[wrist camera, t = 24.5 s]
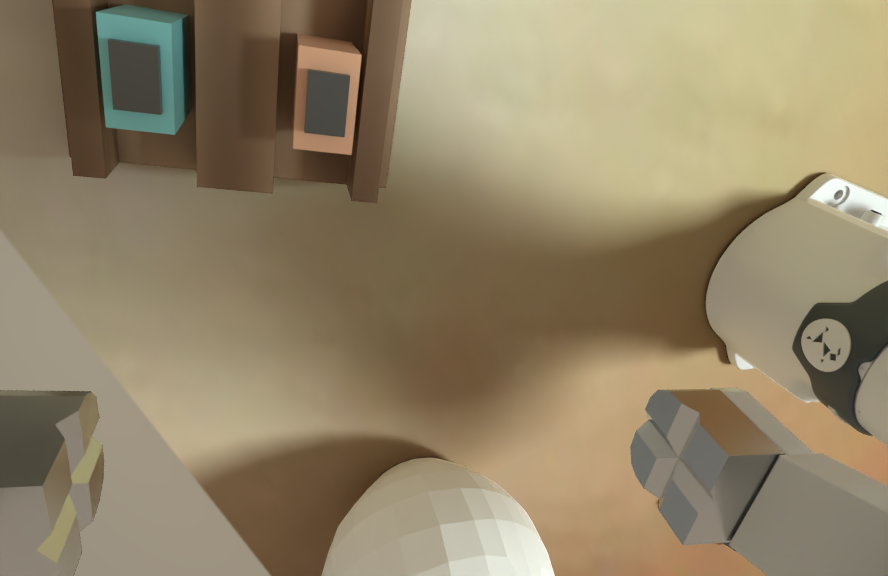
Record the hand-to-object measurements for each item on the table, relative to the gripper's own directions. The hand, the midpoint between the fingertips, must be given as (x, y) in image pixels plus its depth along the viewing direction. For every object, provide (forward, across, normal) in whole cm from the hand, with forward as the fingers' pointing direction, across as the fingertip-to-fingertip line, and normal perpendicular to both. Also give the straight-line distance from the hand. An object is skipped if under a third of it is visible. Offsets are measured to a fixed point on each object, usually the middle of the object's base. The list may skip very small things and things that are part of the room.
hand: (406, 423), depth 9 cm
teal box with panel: (+30, +8, 0) cm, 31 cm away
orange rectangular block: (+30, 0, 0) cm, 30 cm away
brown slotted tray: (+31, +4, 0) cm, 31 cm away
